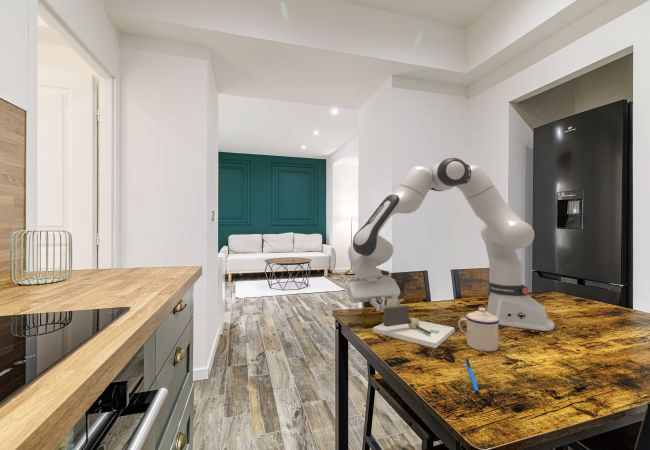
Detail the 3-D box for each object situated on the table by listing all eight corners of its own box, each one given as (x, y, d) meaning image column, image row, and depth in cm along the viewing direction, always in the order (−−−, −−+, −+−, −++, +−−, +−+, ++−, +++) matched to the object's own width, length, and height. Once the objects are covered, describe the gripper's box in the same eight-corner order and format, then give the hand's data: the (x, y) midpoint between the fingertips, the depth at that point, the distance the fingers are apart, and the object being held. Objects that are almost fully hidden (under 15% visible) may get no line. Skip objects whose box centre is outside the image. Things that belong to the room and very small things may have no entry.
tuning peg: (414, 324, 109) (414, 303, 109) (434, 333, 100) (434, 310, 100) (382, 328, 105) (382, 306, 105) (399, 339, 95) (399, 315, 95)
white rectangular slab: (454, 331, 107) (454, 327, 107) (435, 348, 93) (435, 343, 93) (396, 319, 121) (396, 315, 121) (372, 332, 107) (372, 327, 107)
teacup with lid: (504, 346, 94) (504, 308, 94) (491, 355, 88) (491, 314, 88) (465, 335, 103) (465, 301, 103) (451, 342, 98) (451, 306, 98)
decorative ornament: (389, 306, 140) (389, 295, 140) (405, 310, 134) (405, 298, 134) (383, 308, 137) (383, 296, 137) (400, 312, 131) (400, 299, 131)
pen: (467, 361, 85) (468, 357, 85) (480, 398, 67) (480, 393, 67) (464, 360, 86) (464, 356, 86) (476, 398, 67) (476, 392, 67)
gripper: (346, 274, 114) (358, 308, 104) (393, 271, 121) (408, 302, 111) (341, 284, 118) (352, 317, 109) (387, 280, 125) (401, 311, 116)
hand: (381, 309), depth 110 cm, fingers closed
